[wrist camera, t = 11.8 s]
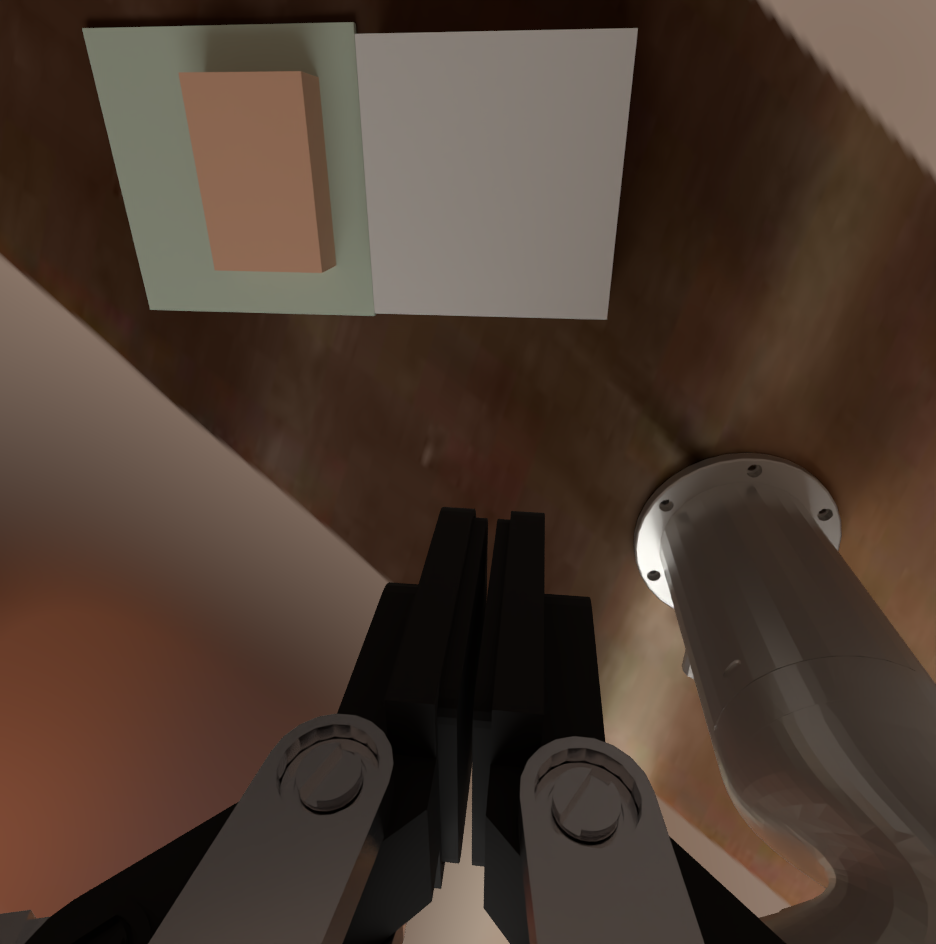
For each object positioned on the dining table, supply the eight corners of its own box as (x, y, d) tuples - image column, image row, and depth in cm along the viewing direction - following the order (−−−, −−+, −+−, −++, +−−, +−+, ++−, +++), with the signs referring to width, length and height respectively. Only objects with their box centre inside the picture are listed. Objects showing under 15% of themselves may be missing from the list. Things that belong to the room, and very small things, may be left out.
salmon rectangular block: (214, 270, 33) (235, 263, 35) (321, 272, 32) (336, 265, 34) (178, 72, 29) (204, 78, 31) (300, 70, 28) (318, 77, 30)
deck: (600, 302, 34) (606, 319, 30) (391, 297, 35) (374, 313, 32) (626, 43, 28) (637, 28, 25) (377, 48, 30) (354, 34, 26)
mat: (376, 314, 36) (374, 315, 35) (154, 308, 37) (150, 309, 37) (355, 23, 29) (353, 22, 29) (87, 29, 31) (82, 28, 30)
